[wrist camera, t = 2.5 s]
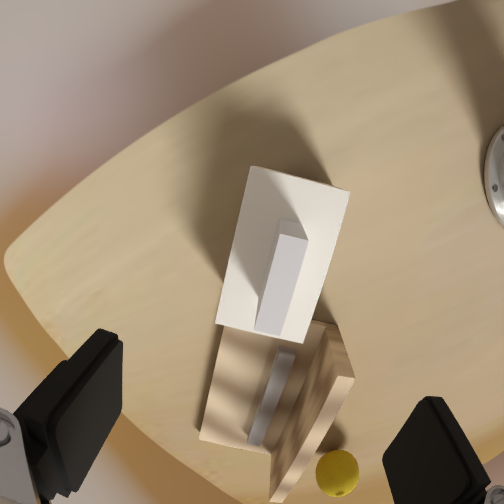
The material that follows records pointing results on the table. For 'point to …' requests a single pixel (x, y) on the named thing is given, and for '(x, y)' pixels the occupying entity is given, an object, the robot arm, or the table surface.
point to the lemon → (337, 473)
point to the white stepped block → (280, 253)
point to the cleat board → (249, 386)
